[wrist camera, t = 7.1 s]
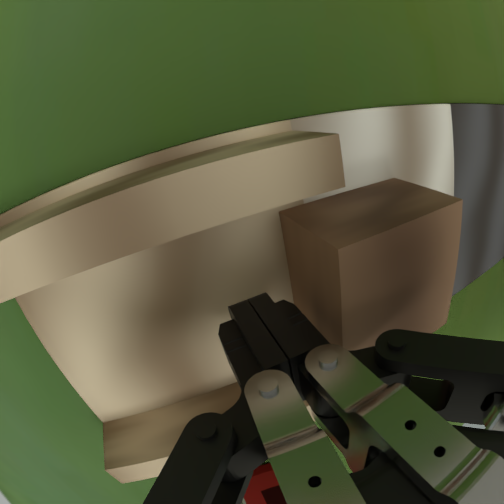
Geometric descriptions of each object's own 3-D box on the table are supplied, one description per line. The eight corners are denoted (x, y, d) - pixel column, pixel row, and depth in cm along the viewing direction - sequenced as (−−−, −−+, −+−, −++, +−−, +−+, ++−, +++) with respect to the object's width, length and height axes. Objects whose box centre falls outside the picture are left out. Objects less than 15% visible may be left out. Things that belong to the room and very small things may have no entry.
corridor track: (510, 105, 15) (545, 111, 12) (502, 254, 21) (530, 269, 18) (-14, 221, 8) (-58, 256, 5) (120, 436, 14) (125, 486, 11)
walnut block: (394, 177, 13) (462, 199, 10) (394, 286, 16) (446, 322, 12) (278, 211, 12) (338, 249, 8) (298, 331, 14) (342, 386, 11)
